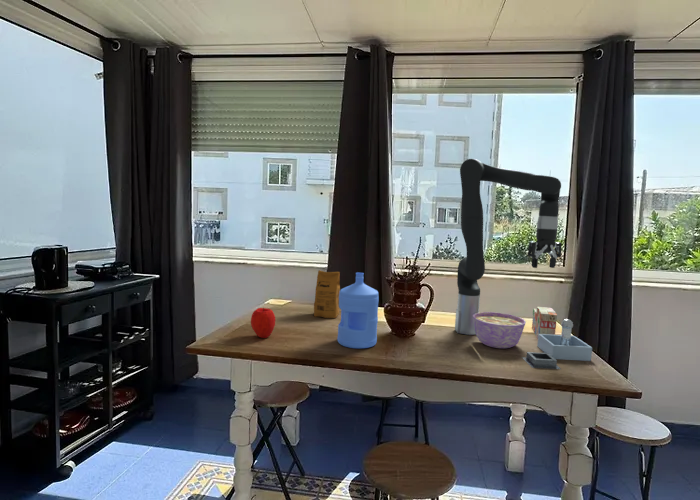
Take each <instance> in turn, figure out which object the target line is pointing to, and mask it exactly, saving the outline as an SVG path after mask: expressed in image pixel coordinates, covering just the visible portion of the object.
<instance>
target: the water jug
mask: <svg viewBox="0 0 700 500" xmlns="http://www.w3.org/2000/svg"><path fill="white" fill-rule="evenodd" d="M364 274H365V273H364V272H358V271H357V272H355V282H354V283H352V284H350V285H348V286H345V287H343V288H340V293H339V302H338V304H339V310H341V311H340V312H341V313H340V322H339V323H338V325H337V342H338V344H340V345H341V346H343V347H345V348H349V349H360V350H361V349H369V348H372V347H374V346H376V344H377V342H378V341H377V340H378V336H377V334H378V323H379V317H378V311H379V291H378V290H377V289H375V288H373V287H371V286H369V285H367V284H366V283H365V282H364Z"/></svg>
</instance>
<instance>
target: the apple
mask: <svg viewBox="0 0 700 500" xmlns="http://www.w3.org/2000/svg"><path fill="white" fill-rule="evenodd" d="M250 325H251V329H252V330H253V332H254V333H255V334H256V335H257V337H259V338H261V339H267V338H269V337H270V336H271V334H272V333H273V331H274V330H275V329H274V328H275V326H276V315H275V313H274V311H273V310H272V309H271V308H266V307H258V308H257V309H255V310H254V311H253V312H252V314H251V318H250Z"/></svg>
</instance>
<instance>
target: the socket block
mask: <svg viewBox="0 0 700 500" xmlns="http://www.w3.org/2000/svg"><path fill="white" fill-rule="evenodd" d="M521 358H522V359H523V360H524V362H526V363H527V365H528V366H529V367H530V368H531V369H532V368H533V369H534V368H535V369H548V370H549V369H550V370H562V369H561V367H560V366H558V365H557V363H558V359H554V358H553V357H552V356H551V355H550V354H549V353H545V352H535V351H533V352H532V351H527V352H526V357H525V356H524V357H523V356H522V357H521Z"/></svg>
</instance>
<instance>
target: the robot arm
mask: <svg viewBox="0 0 700 500" xmlns="http://www.w3.org/2000/svg"><path fill="white" fill-rule="evenodd" d="M459 175H460V184H461V201H460V202H461V203H460V204H461V205H460V207H461V208H460V229H461V232H462V236H463V239H464V243H465V247H466V256H465V257H463V258H461V260H460V261H459V263H458V265H457V279H456V281H457V283H456V284H457V285H456V286H457V289H458V291H457V293H458V295H457V306H456V309H455V319H454V331H455V332H456V333H457V334H461V335H468V336H472V335H476V331H475V326H474V320H473V315H474V314H476V313H480V301H481V299H480V298H481V288H480V286H479V283H478V280H481V279H482V278H483V276H484V274H485V271H486V265H485V255H484V208H483V203H482V202H483V201H482V197H481V182H491V183H496V184H500V185H503V186H506V187H510V188H512V189H513V188H514V189H518V190H522V191H523V190H524V191H533V192H535V193H536V192H537V193H540V205H539V210H538V218H537V224H536V233H535V234H536V235H535V238H536V242H535V241H529V244H528V250H527V251H528V252H527V256H528V257H530V258H531V267H532V268H534V269H538V263H539V262H538V261H539V257H540V256H541V255H542V254H545V253H547V254H548V255H549V257H550V258H549V264H548V265H549V268H551V269H555V267H556V265H557V259H558V258H561V257H562V242H560V241H559V242H558V241H556V240H557V236H558V225H559V209H560V205H559V200H560V195H561V188H562V183H561V180H560V179H559V178H557V177H555V176H550V175H545V174H544V175H542V174H535V173H533V172H527V171H523V170H518V169H517V170H516V169H508V168H501V167H497V166H496V167H495V166H493V165H490V164H487V163H484V162H481V161H480V160H479V159H476V158H468V159H465V160H464V161H463V162H462V163H461V165H460V167H459Z"/></svg>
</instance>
